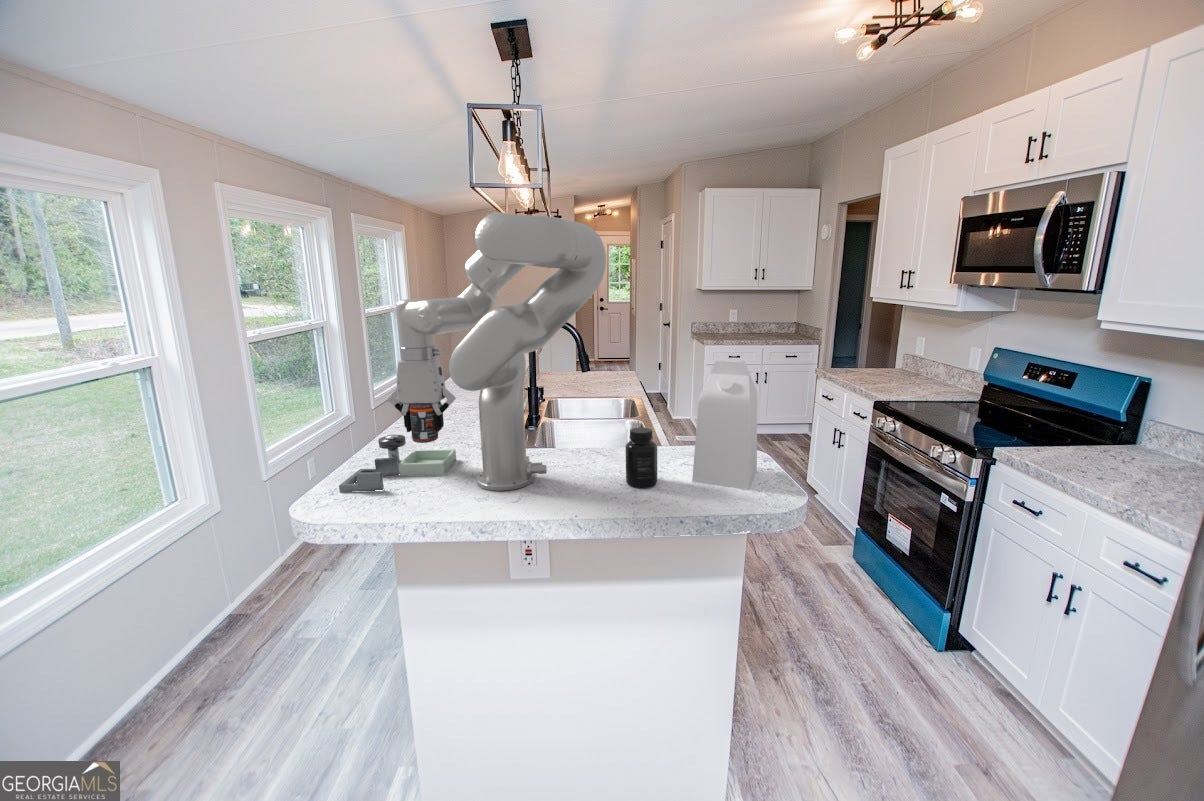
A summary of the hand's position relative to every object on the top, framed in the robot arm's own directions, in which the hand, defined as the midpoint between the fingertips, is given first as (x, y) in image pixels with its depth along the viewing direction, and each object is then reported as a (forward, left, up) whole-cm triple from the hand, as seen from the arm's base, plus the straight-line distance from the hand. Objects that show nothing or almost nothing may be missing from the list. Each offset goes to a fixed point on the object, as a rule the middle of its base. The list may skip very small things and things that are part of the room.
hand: (424, 429), depth 119 cm
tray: (0, 0, -9) cm, 9 cm away
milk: (-69, +9, -10) cm, 70 cm away
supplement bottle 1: (0, 0, -3) cm, 3 cm away
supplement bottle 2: (-50, +12, -10) cm, 53 cm away
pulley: (+9, -2, -9) cm, 13 cm away
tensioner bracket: (+10, +9, -9) cm, 16 cm away
